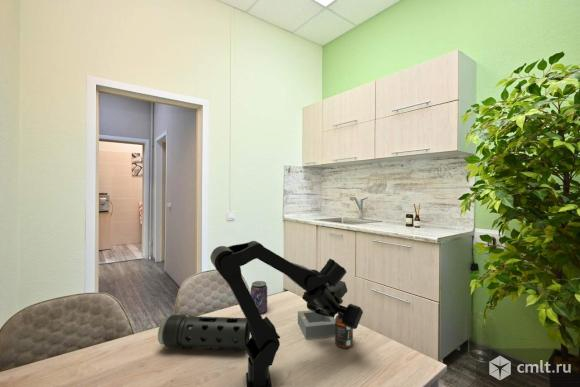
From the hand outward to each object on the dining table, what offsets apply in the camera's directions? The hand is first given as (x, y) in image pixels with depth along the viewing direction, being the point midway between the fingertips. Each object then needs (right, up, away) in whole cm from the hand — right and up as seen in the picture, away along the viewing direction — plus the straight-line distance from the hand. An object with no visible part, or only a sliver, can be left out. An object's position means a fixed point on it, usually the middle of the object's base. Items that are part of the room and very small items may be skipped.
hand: (343, 320), depth 90 cm
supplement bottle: (0, -9, +1) cm, 8 cm away
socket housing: (-8, -8, +10) cm, 15 cm away
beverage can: (-31, -8, +25) cm, 41 cm away
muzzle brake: (-46, -8, -2) cm, 47 cm away
